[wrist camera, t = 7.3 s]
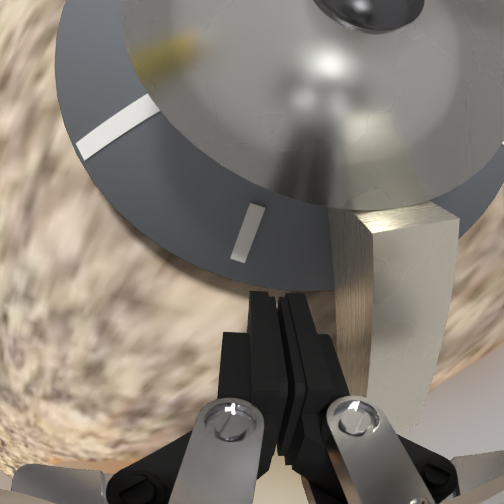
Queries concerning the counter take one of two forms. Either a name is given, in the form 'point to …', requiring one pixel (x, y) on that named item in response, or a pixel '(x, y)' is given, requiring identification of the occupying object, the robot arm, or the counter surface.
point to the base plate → (197, 171)
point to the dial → (345, 144)
